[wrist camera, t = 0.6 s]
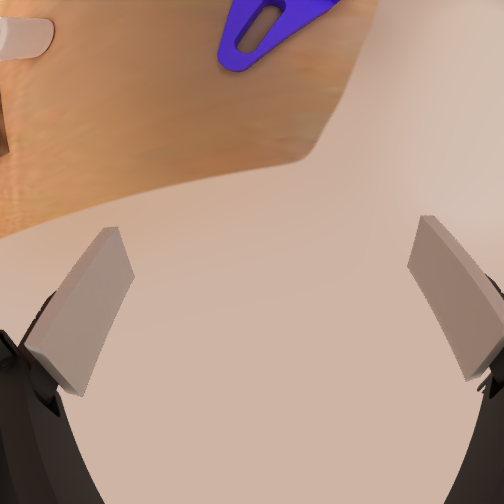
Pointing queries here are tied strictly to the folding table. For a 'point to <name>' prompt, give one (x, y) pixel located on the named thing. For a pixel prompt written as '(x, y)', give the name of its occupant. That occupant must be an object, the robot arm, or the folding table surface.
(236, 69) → the bracket
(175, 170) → the folding table surface
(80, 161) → the folding table surface
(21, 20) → the can
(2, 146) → the rack
